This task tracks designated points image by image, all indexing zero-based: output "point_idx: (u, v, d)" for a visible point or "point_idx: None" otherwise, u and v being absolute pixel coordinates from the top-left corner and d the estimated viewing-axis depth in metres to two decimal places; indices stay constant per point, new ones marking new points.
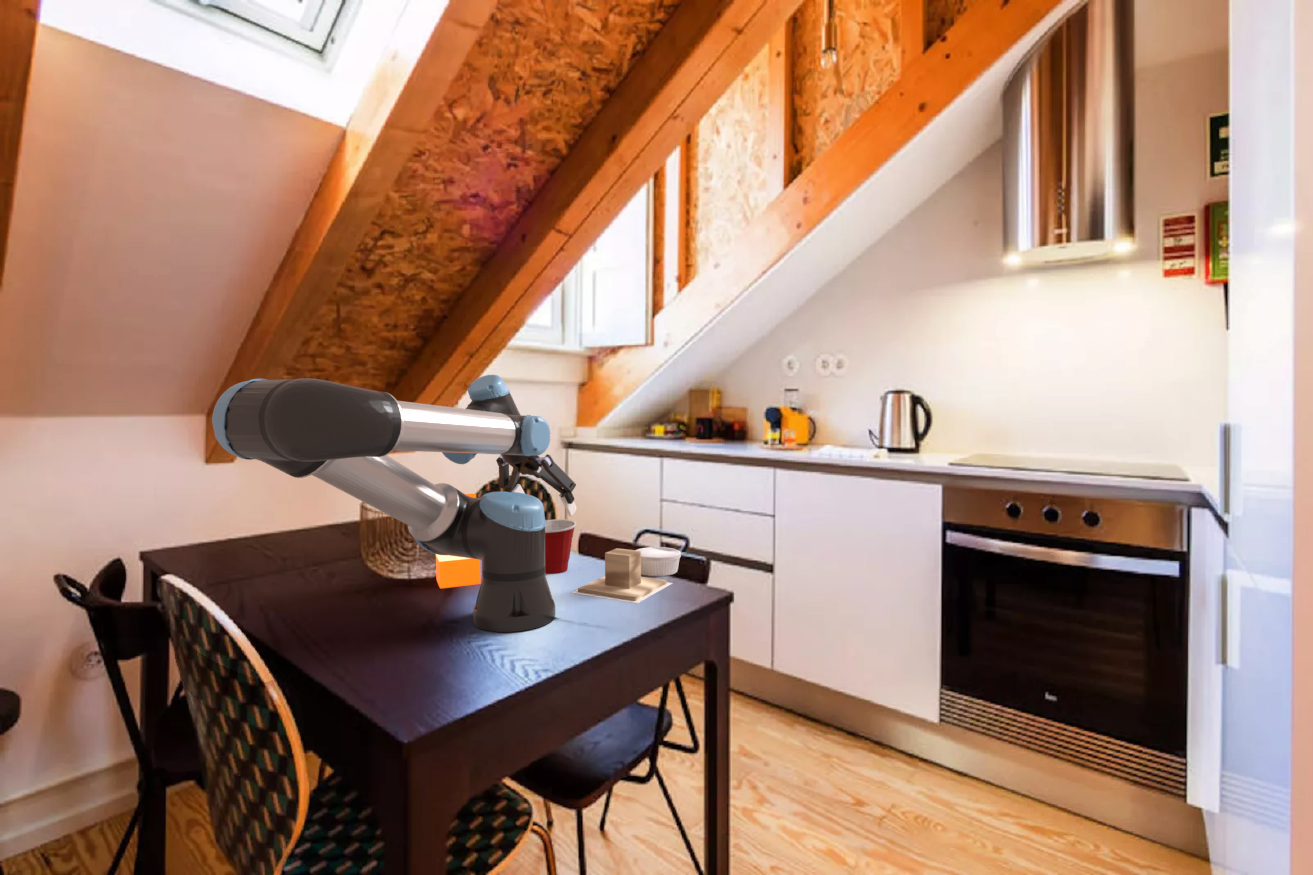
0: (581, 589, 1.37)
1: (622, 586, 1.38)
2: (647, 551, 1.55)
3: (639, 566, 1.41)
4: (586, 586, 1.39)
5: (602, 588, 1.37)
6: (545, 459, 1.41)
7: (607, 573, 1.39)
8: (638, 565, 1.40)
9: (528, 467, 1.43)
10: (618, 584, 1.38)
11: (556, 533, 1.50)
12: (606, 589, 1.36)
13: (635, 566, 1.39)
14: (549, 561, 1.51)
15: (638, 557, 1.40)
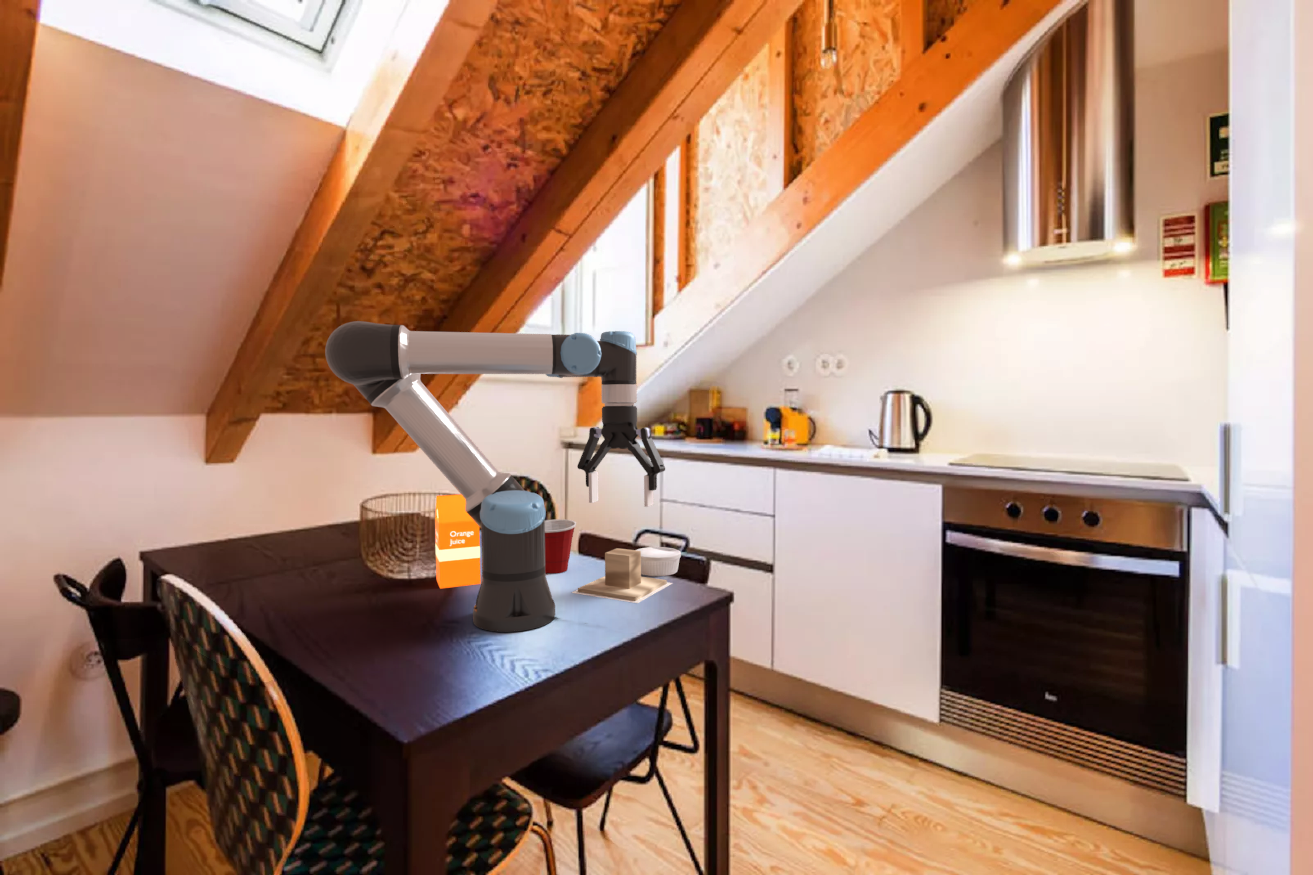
0: (581, 589, 1.37)
1: (622, 586, 1.38)
2: (647, 551, 1.55)
3: (639, 566, 1.41)
4: (586, 586, 1.39)
5: (602, 588, 1.37)
6: (646, 428, 1.36)
7: (607, 573, 1.39)
8: (638, 565, 1.40)
9: (624, 435, 1.37)
10: (618, 584, 1.38)
11: (556, 533, 1.50)
12: (606, 589, 1.36)
13: (635, 566, 1.39)
14: (549, 561, 1.51)
15: (638, 557, 1.40)
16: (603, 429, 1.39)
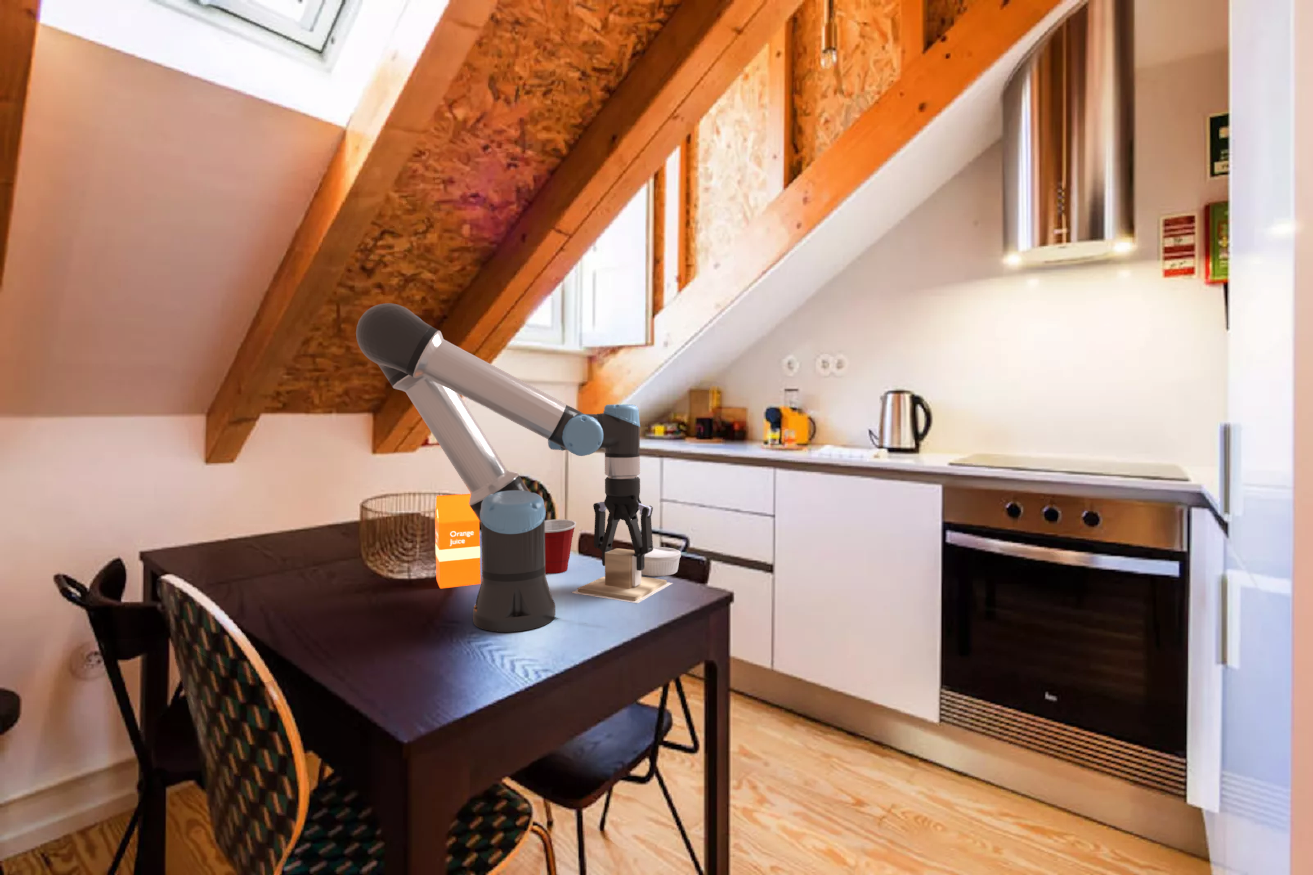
0: (581, 589, 1.37)
1: (622, 586, 1.38)
2: None
3: None
4: (586, 586, 1.39)
5: (602, 588, 1.37)
6: (649, 508, 1.36)
7: (607, 573, 1.39)
8: None
9: (626, 509, 1.37)
10: (618, 584, 1.38)
11: (556, 533, 1.50)
12: (606, 589, 1.36)
13: None
14: (549, 561, 1.51)
15: None
16: (605, 500, 1.40)
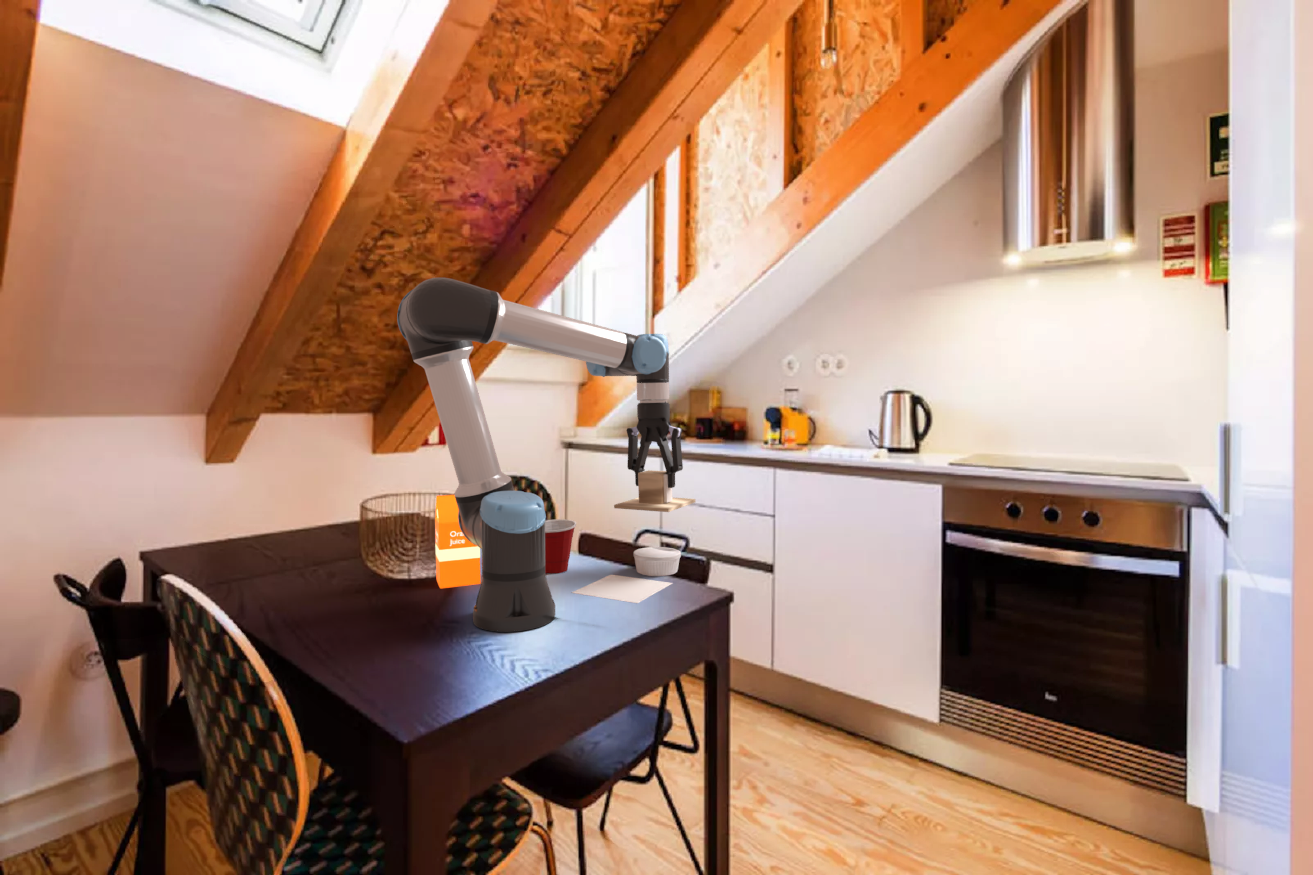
0: (617, 505, 1.49)
1: (655, 502, 1.49)
2: (647, 551, 1.55)
3: None
4: (622, 503, 1.50)
5: (636, 504, 1.49)
6: (678, 429, 1.47)
7: (640, 491, 1.51)
8: None
9: (658, 431, 1.48)
10: (651, 501, 1.49)
11: (556, 533, 1.50)
12: (640, 505, 1.48)
13: None
14: (549, 561, 1.51)
15: None
16: (638, 425, 1.51)
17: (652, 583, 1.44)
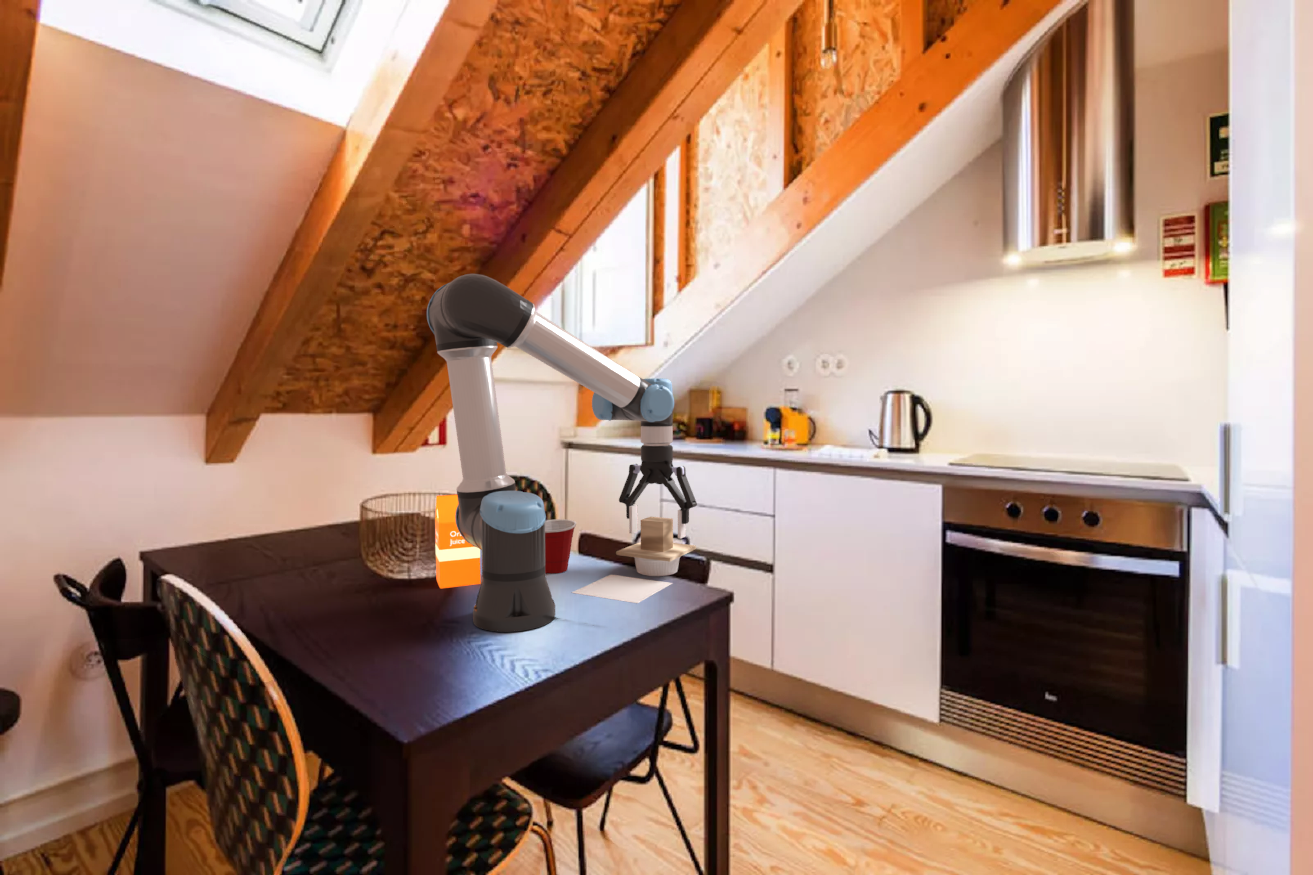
0: (619, 552, 1.51)
1: (656, 550, 1.52)
2: None
3: (672, 532, 1.55)
4: (624, 550, 1.53)
5: (638, 551, 1.51)
6: (681, 467, 1.50)
7: (642, 538, 1.53)
8: (670, 532, 1.54)
9: (661, 472, 1.51)
10: (653, 548, 1.52)
11: (556, 533, 1.50)
12: (642, 552, 1.50)
13: (668, 532, 1.53)
14: (549, 561, 1.51)
15: (670, 524, 1.54)
16: (641, 466, 1.54)
17: (652, 583, 1.44)
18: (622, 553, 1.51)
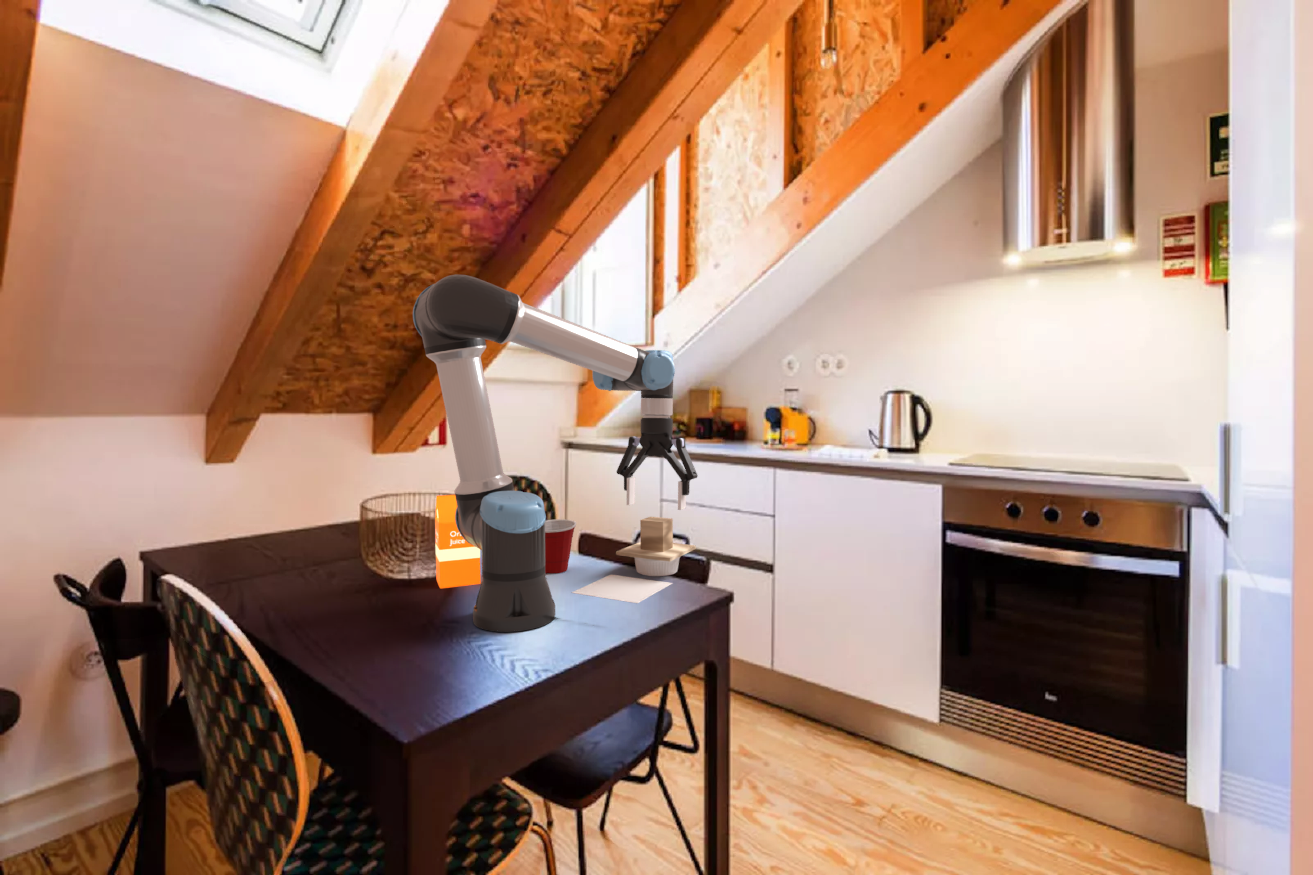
0: (619, 552, 1.51)
1: (656, 550, 1.51)
2: None
3: (671, 532, 1.54)
4: (623, 550, 1.53)
5: (638, 551, 1.51)
6: (681, 438, 1.49)
7: (642, 538, 1.53)
8: (670, 532, 1.54)
9: (660, 444, 1.50)
10: (652, 548, 1.52)
11: (556, 533, 1.50)
12: (642, 552, 1.50)
13: (668, 532, 1.53)
14: (549, 561, 1.51)
15: (670, 524, 1.54)
16: (641, 438, 1.53)
17: (652, 583, 1.44)
18: (622, 553, 1.51)
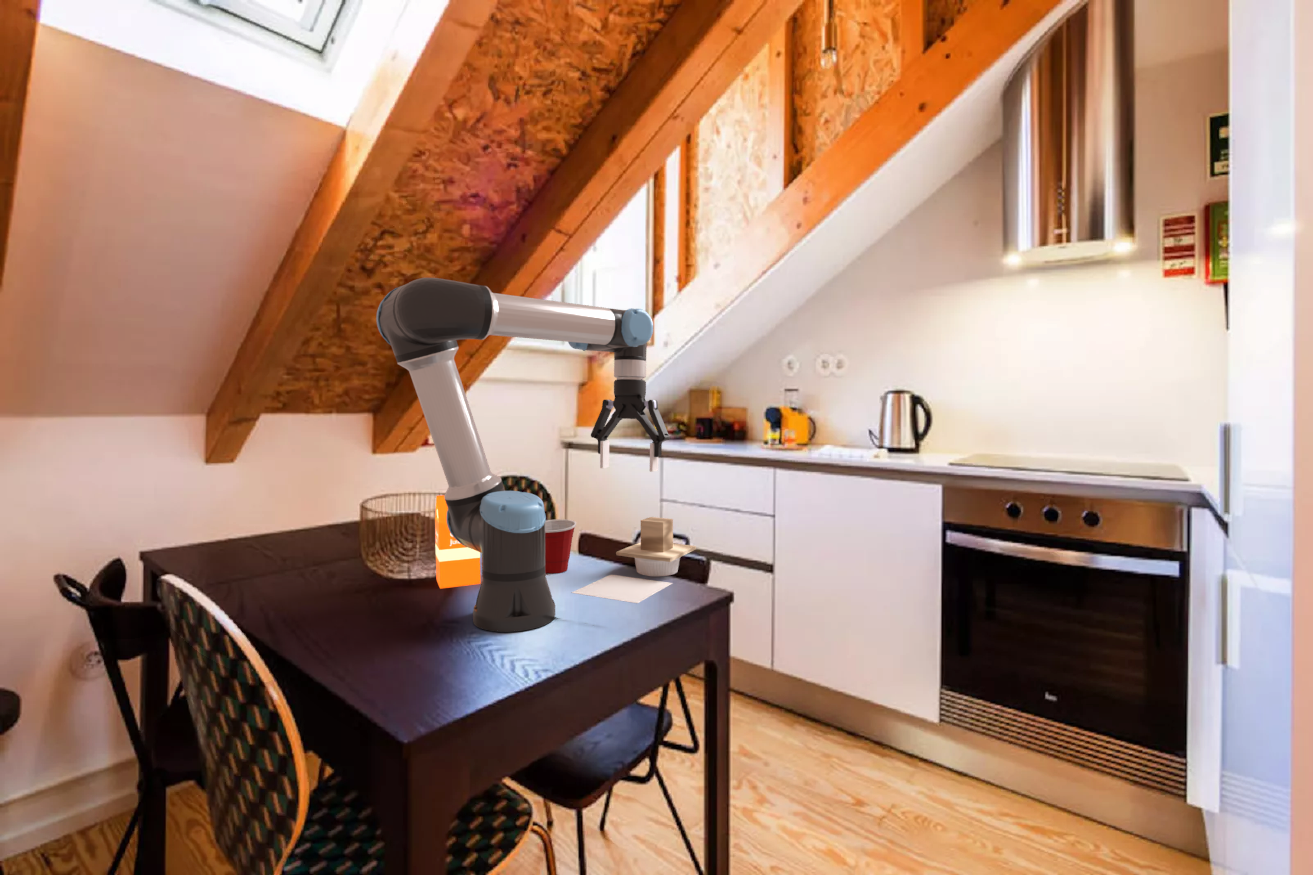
0: (619, 553, 1.51)
1: (656, 550, 1.51)
2: None
3: (672, 532, 1.54)
4: (624, 550, 1.52)
5: (638, 552, 1.51)
6: (653, 400, 1.49)
7: (642, 538, 1.53)
8: (670, 532, 1.54)
9: (633, 406, 1.50)
10: (653, 548, 1.52)
11: (556, 533, 1.50)
12: (642, 553, 1.50)
13: (668, 532, 1.53)
14: (549, 561, 1.51)
15: (670, 524, 1.54)
16: (615, 401, 1.53)
17: (652, 583, 1.44)
18: (622, 553, 1.51)
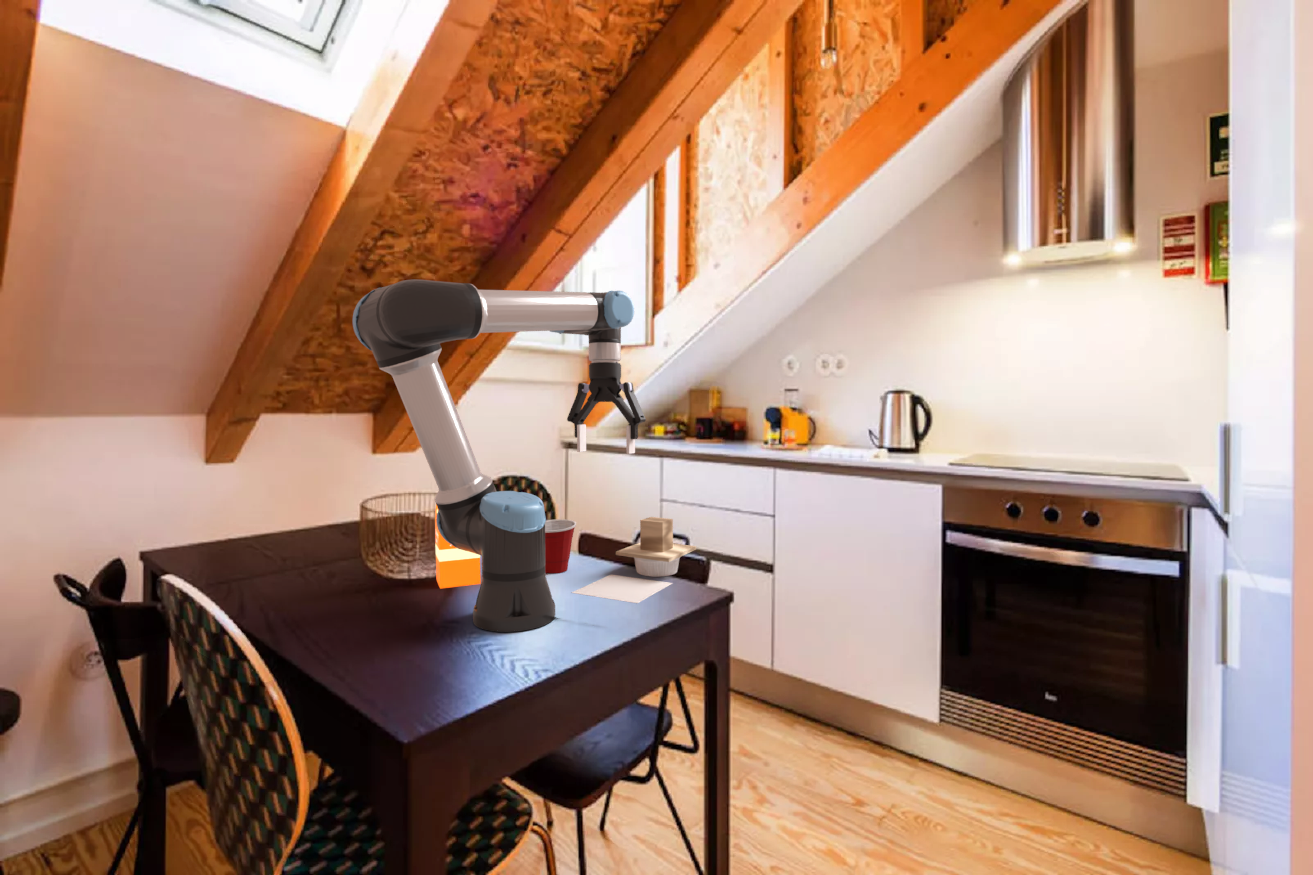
0: (619, 552, 1.51)
1: (656, 550, 1.51)
2: None
3: (671, 532, 1.54)
4: (623, 550, 1.52)
5: (638, 551, 1.51)
6: (628, 382, 1.49)
7: (642, 538, 1.53)
8: (670, 532, 1.54)
9: (609, 389, 1.50)
10: (652, 548, 1.52)
11: (556, 533, 1.50)
12: (642, 552, 1.50)
13: (667, 532, 1.52)
14: (549, 561, 1.51)
15: (670, 524, 1.53)
16: (590, 384, 1.53)
17: (652, 583, 1.44)
18: (621, 553, 1.50)
